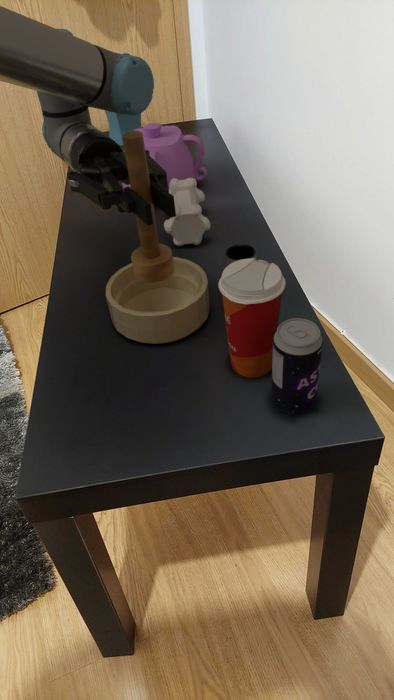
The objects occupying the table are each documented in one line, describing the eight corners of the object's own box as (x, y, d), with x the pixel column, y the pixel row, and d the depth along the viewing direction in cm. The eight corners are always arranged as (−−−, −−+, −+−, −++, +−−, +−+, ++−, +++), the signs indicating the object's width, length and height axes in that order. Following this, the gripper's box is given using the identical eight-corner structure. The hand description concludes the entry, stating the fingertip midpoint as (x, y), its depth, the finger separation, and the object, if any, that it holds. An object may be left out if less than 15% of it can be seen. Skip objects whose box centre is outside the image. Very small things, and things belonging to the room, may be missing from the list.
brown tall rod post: (142, 287, 73) (116, 147, 60) (128, 267, 77) (101, 133, 64) (180, 275, 75) (163, 136, 61) (165, 256, 79) (146, 122, 65)
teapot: (218, 188, 115) (215, 122, 105) (142, 221, 106) (130, 152, 96) (169, 165, 126) (162, 104, 117) (96, 193, 118) (82, 129, 108)
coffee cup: (239, 337, 76) (237, 250, 66) (291, 353, 73) (296, 264, 63) (212, 372, 71) (204, 284, 61) (265, 392, 68) (267, 301, 58)
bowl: (132, 360, 74) (125, 328, 70) (100, 304, 85) (93, 274, 81) (226, 325, 79) (225, 294, 75) (185, 276, 89) (182, 247, 85)
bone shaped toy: (164, 214, 107) (159, 177, 102) (205, 210, 108) (202, 172, 102) (166, 251, 96) (161, 211, 91) (212, 246, 96) (209, 206, 91)
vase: (121, 146, 139) (107, 64, 125) (108, 139, 144) (93, 59, 130) (146, 139, 142) (135, 58, 128) (133, 131, 147) (121, 53, 133)
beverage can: (296, 426, 63) (302, 355, 55) (262, 402, 66) (263, 332, 58) (324, 401, 66) (334, 330, 58) (290, 379, 69) (295, 309, 61)
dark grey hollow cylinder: (223, 312, 81) (219, 256, 74) (234, 296, 84) (233, 241, 77) (249, 319, 79) (248, 262, 72) (260, 302, 82) (260, 247, 75)
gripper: (141, 165, 85) (215, 219, 69) (51, 192, 80) (109, 257, 64) (134, 118, 80) (212, 165, 64) (38, 144, 75) (97, 201, 59)
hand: (160, 210), depth 64 cm, fingers closed on brown tall rod post, 3 cm apart
